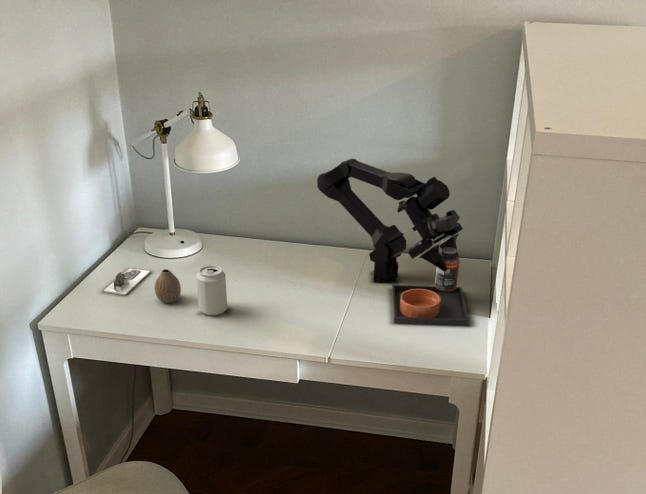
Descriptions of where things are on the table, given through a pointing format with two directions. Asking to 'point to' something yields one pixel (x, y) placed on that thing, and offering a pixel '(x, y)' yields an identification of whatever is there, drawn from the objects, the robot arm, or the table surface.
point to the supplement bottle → (448, 271)
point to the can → (212, 290)
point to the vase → (167, 287)
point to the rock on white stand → (126, 281)
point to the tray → (449, 309)
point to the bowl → (420, 303)
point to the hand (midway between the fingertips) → (452, 267)
